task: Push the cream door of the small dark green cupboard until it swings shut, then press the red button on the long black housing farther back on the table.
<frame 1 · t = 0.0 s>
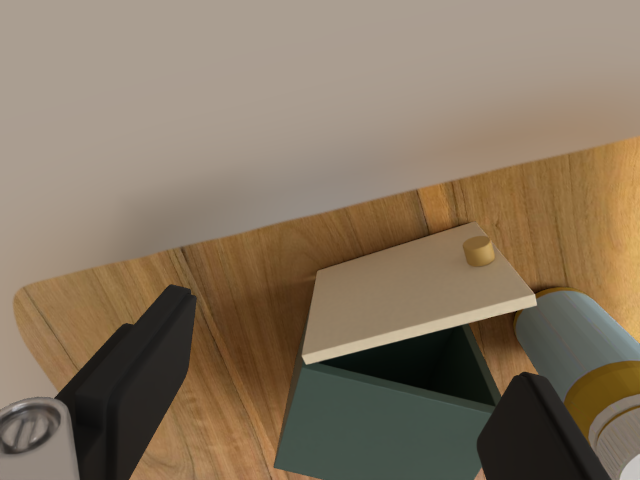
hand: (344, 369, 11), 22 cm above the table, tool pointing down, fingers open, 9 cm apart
door: (398, 275, 28), point 6 cm above the table, hinge at 35.0°
bottle: (550, 315, 35), on the table
cupboard: (375, 339, 37), on the table
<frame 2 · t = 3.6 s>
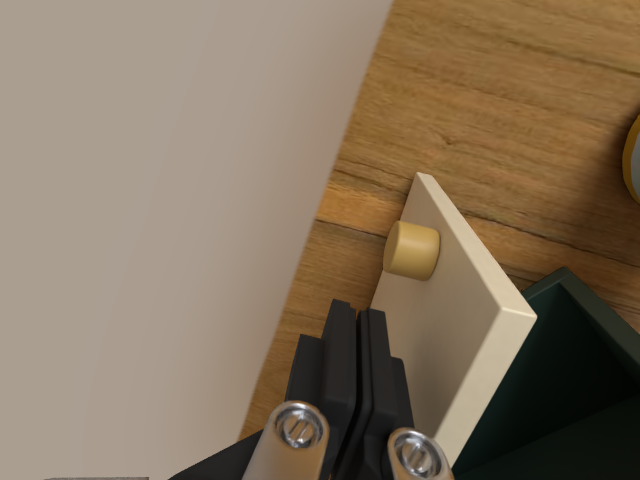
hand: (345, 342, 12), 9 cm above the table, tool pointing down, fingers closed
door: (374, 366, 16), point 6 cm above the table, hinge at 34.9°, touching gripper
cupboard: (497, 387, 23), on the table
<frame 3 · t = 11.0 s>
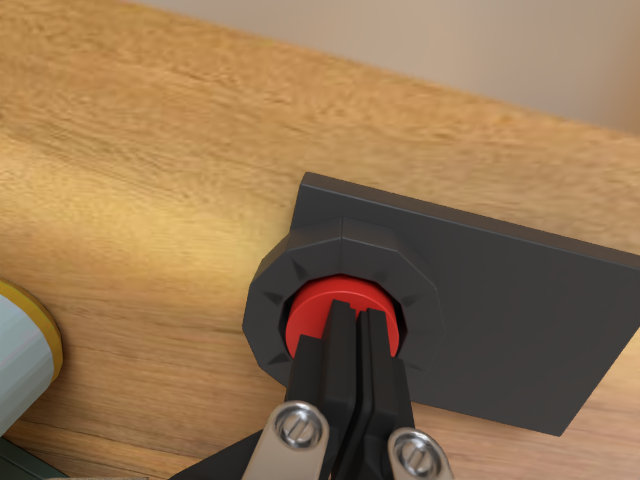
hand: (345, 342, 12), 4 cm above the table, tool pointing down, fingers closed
switch: (437, 301, 16), on the table
bottle: (3, 325, 18), on the table
button: (342, 323, 13), point 3 cm above the table, slide at -0.8 cm, touching gripper
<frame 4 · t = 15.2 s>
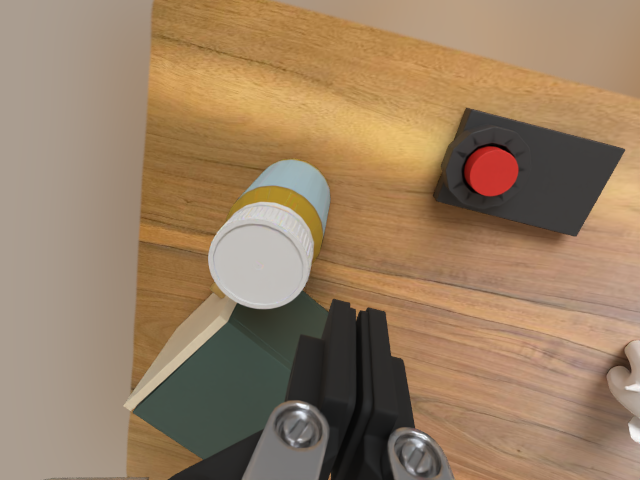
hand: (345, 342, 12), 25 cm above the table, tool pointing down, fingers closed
door: (191, 321, 36), point 6 cm above the table, hinge at -0.8°
switch: (519, 171, 34), on the table
bottle: (294, 193, 37), on the table
button: (490, 171, 30), point 4 cm above the table, slide at 0.1 cm
cupboard: (256, 323, 43), on the table
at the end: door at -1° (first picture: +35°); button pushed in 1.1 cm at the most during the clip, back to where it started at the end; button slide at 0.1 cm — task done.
